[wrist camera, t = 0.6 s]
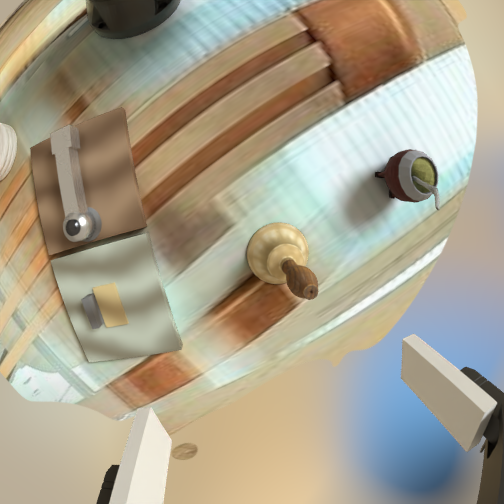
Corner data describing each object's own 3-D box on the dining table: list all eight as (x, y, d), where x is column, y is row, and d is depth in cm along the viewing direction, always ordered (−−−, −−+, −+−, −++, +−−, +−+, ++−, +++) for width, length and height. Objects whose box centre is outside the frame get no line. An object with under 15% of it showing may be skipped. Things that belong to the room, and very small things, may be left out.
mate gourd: (410, 158, 37) (479, 149, 23) (408, 208, 39) (478, 217, 24) (370, 149, 37) (437, 132, 22) (368, 203, 38) (436, 210, 23)
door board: (35, 149, 31) (21, 146, 28) (125, 110, 32) (115, 102, 29) (92, 357, 38) (83, 369, 35) (182, 344, 39) (179, 358, 35)
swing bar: (99, 234, 33) (87, 238, 30) (77, 241, 33) (64, 245, 29) (80, 128, 30) (67, 122, 27) (59, 137, 30) (45, 133, 26)
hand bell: (266, 294, 39) (292, 354, 23) (235, 242, 37) (243, 275, 22) (318, 264, 39) (373, 304, 23) (290, 210, 37) (336, 221, 22)
